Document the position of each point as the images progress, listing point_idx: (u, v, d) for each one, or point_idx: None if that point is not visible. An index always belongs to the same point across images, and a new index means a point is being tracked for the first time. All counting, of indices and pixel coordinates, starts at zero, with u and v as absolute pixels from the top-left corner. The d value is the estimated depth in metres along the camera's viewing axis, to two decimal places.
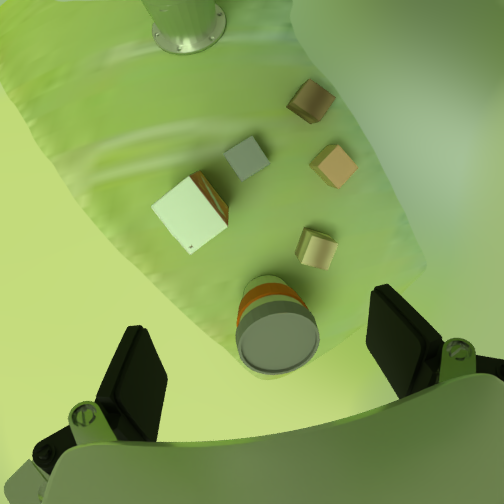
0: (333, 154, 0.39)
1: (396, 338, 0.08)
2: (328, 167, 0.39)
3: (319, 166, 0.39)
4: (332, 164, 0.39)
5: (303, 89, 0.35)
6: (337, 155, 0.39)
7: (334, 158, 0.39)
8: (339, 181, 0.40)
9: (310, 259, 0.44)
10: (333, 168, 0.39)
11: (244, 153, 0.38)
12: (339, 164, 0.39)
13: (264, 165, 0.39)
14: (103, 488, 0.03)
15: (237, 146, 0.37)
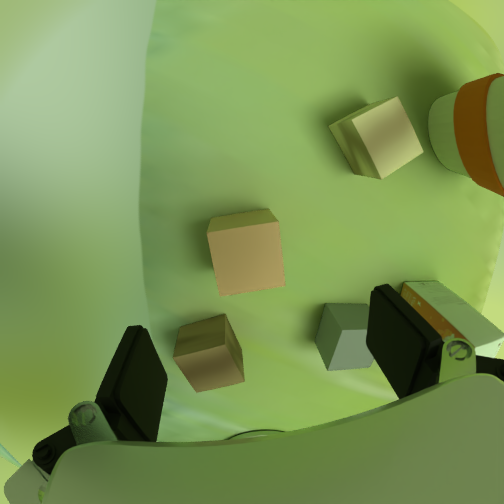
0: (241, 286, 0.20)
1: (396, 338, 0.08)
2: (267, 272, 0.20)
3: (282, 284, 0.20)
4: (256, 272, 0.20)
5: (216, 386, 0.24)
6: (235, 281, 0.20)
7: (244, 279, 0.20)
8: (266, 234, 0.19)
9: (409, 143, 0.17)
10: (259, 264, 0.20)
11: (353, 357, 0.24)
12: (243, 264, 0.20)
13: (350, 332, 0.23)
14: (103, 488, 0.03)
15: (351, 367, 0.24)
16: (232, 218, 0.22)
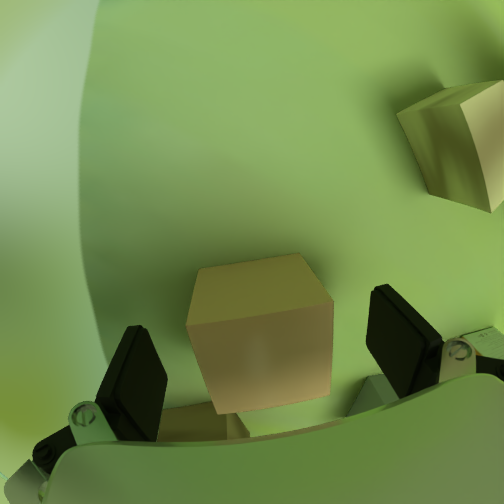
0: (256, 402, 0.10)
1: (396, 338, 0.08)
2: (303, 381, 0.10)
3: (324, 393, 0.10)
4: (283, 383, 0.10)
5: None
6: (244, 396, 0.10)
7: (261, 394, 0.10)
8: (307, 326, 0.09)
9: None
10: (290, 373, 0.10)
11: None
12: (259, 373, 0.10)
13: None
14: (103, 488, 0.03)
15: None
16: (236, 277, 0.12)
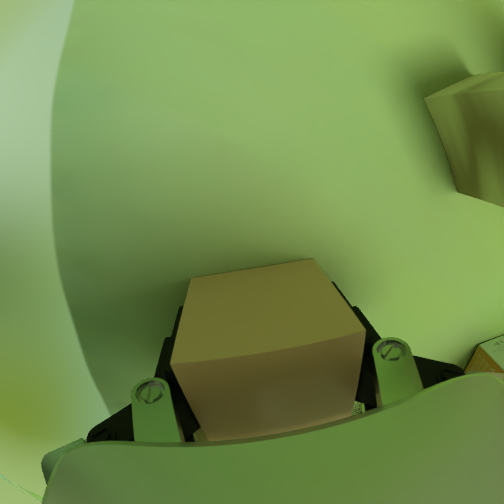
0: None
1: None
2: (319, 419, 0.08)
3: None
4: (294, 422, 0.08)
5: None
6: (247, 436, 0.08)
7: (268, 433, 0.08)
8: (329, 361, 0.07)
9: None
10: (304, 412, 0.07)
11: None
12: (266, 414, 0.07)
13: None
14: (103, 488, 0.03)
15: None
16: (237, 292, 0.09)
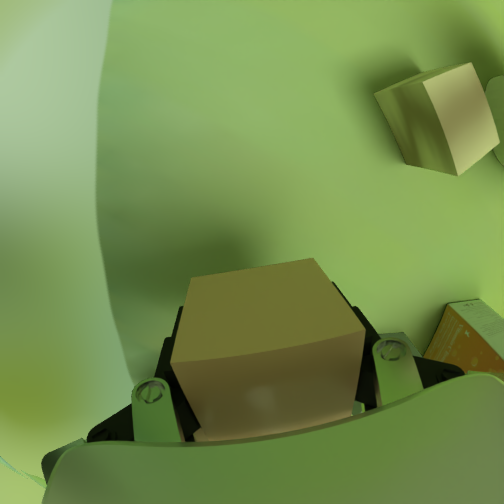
0: None
1: None
2: (318, 419, 0.08)
3: None
4: (294, 422, 0.08)
5: None
6: (247, 435, 0.08)
7: (268, 433, 0.08)
8: (329, 360, 0.07)
9: (486, 128, 0.09)
10: (304, 411, 0.07)
11: None
12: (266, 414, 0.07)
13: None
14: (103, 488, 0.03)
15: None
16: (237, 292, 0.09)
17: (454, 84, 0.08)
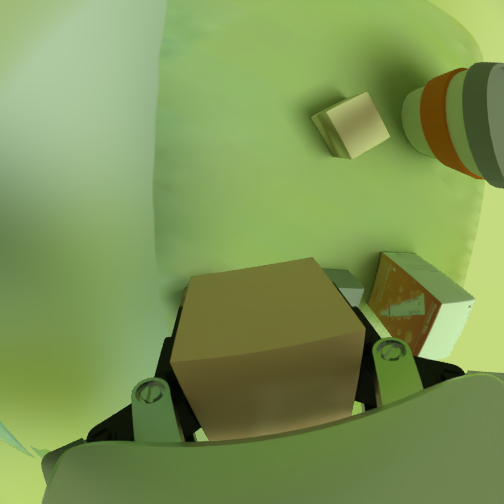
0: None
1: None
2: (318, 418, 0.08)
3: None
4: (294, 421, 0.08)
5: None
6: (247, 435, 0.08)
7: (268, 432, 0.08)
8: (330, 359, 0.07)
9: (376, 130, 0.22)
10: (304, 410, 0.07)
11: None
12: (266, 413, 0.07)
13: None
14: (103, 488, 0.03)
15: None
16: (237, 291, 0.09)
17: (349, 108, 0.21)
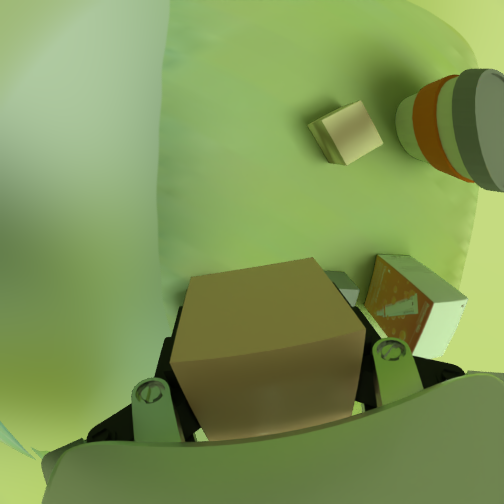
0: None
1: None
2: (319, 418, 0.08)
3: None
4: (294, 422, 0.08)
5: None
6: (247, 435, 0.08)
7: (268, 433, 0.08)
8: (330, 360, 0.07)
9: (370, 137, 0.23)
10: (304, 411, 0.07)
11: None
12: (266, 414, 0.07)
13: None
14: (103, 488, 0.03)
15: None
16: (237, 291, 0.09)
17: (344, 117, 0.23)
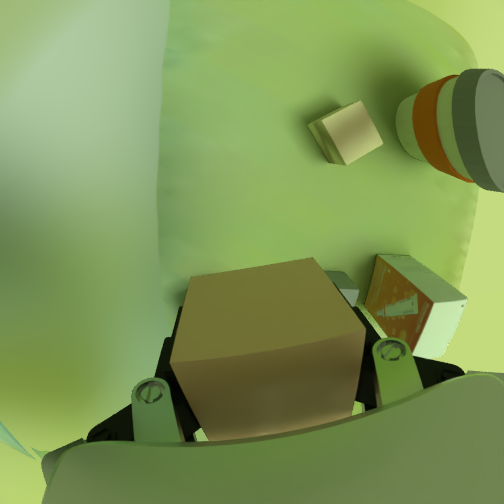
0: None
1: None
2: (319, 418, 0.08)
3: None
4: (294, 422, 0.08)
5: None
6: (247, 435, 0.08)
7: (268, 433, 0.08)
8: (330, 360, 0.07)
9: (370, 137, 0.23)
10: (304, 411, 0.07)
11: None
12: (266, 414, 0.07)
13: None
14: (103, 488, 0.03)
15: None
16: (237, 291, 0.09)
17: (344, 117, 0.23)
